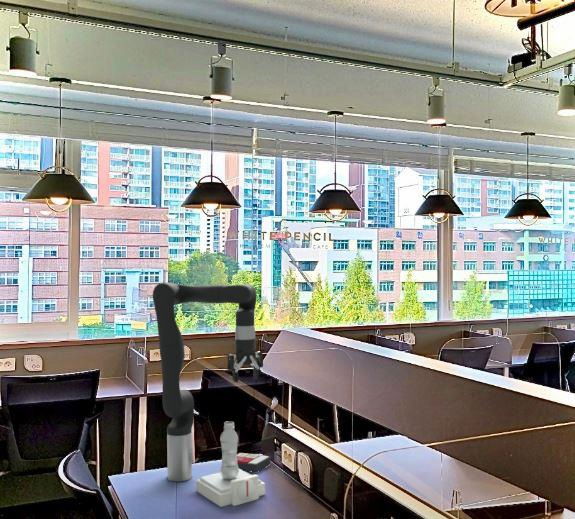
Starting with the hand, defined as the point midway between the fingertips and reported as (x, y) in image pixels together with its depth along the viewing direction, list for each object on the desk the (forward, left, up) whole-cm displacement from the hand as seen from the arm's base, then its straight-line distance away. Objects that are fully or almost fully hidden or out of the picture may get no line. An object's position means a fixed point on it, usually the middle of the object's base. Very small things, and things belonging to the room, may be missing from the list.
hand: (245, 380), depth 224 cm
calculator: (-15, +10, -39) cm, 43 cm away
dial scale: (+6, -10, -38) cm, 40 cm away
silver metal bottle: (+5, -10, -33) cm, 35 cm away
